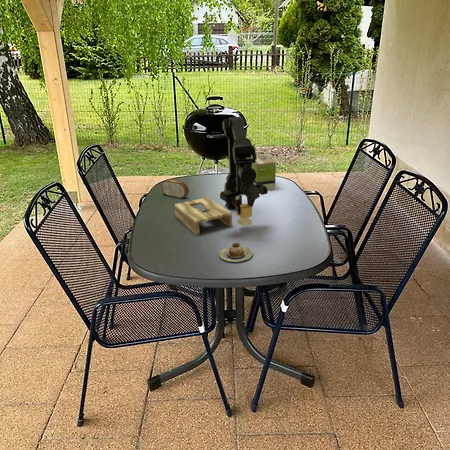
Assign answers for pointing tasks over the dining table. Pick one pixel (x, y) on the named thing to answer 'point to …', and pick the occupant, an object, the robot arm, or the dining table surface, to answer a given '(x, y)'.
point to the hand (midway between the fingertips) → (244, 213)
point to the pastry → (235, 252)
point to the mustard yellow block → (245, 215)
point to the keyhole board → (201, 213)
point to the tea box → (265, 172)
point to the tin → (175, 188)
